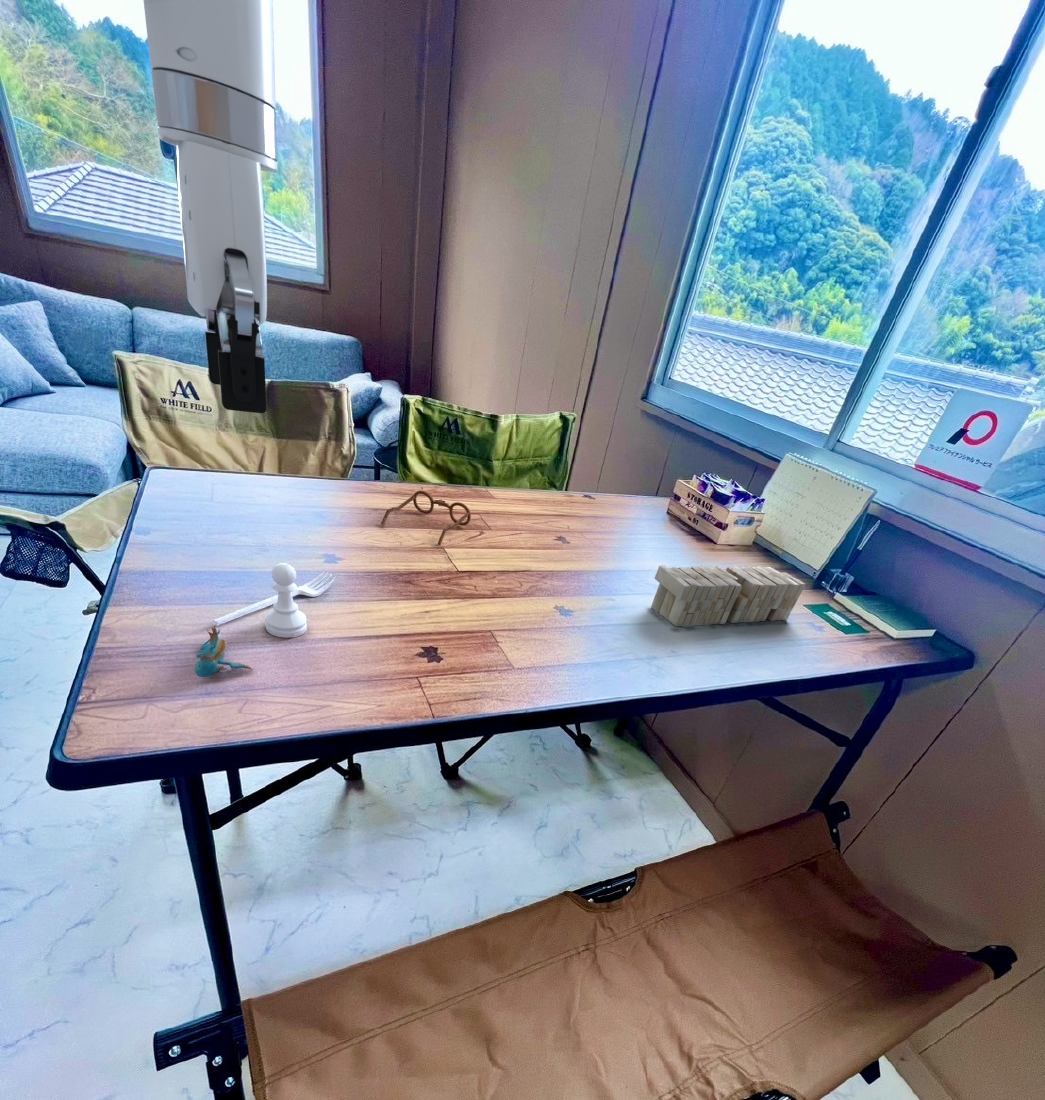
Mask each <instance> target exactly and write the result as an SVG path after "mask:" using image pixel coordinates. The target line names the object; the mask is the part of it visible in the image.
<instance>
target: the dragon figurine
mask: <svg viewBox="0 0 1045 1100" xmlns="http://www.w3.org/2000/svg"><path fill="white" fill-rule="evenodd" d="M206 632H207V634H208V635H209V639H208V640H207V641H205V642H204V643H203V644H202V645H200V647H199V650H200V651H202V652H198V653H196V655H195V657H196V659H199V660H198V661H197V662H196V663H195V666H194V673H195V675H196V677H199V678H207V677H210V676H212V675H218V674H219V675H220V674H223V672H222V671H225V670H228V669H229V668H230V669H245V670H246V669H247V670H251V671H253V670H254V669H253V668H252V667H251V666H249V665H246V664H244V663H242V662H235V661H234V662H233V661H223V659H224V657H225V652H226V650H227V640H226V639H222V638H221V639H220V638H219V634H220V633H221V629H218V630H217V628H216V625H213V627H211V631H208V630H207V631H206ZM223 665H224V666H229V668H228V667H224V666H223Z"/></svg>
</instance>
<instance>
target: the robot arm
mask: <svg viewBox="0 0 1045 1100" xmlns="http://www.w3.org/2000/svg"><path fill="white" fill-rule="evenodd" d="M273 2H274V0H143V9H144V17H145V18H144V19H145V26H146V35H147V44H148V54H149V63H150V70H151V80H152V90H153V98H154V100H153V101H154V108H155V109H154V110H155V117H156V127H157V134H158V135H157V136H158V139H159V140H160V141H163V142H164V143H167V144H169V145H172V146H174V147H176V158H177V159H176V165H177V190H178V201H179V212H180V213H179V214H180V225H181V226H180V227H181V235H182V236H181V237H182V247H183V256H184V257H183V258H184V270H185V281H186V293H187V294H186V295H187V301H188V302H189V305H190V306H191V307H192V309H193V310H194V311H195V312H196V313H197V314H198V315H199V316H200V317H203V318H204V317H205V319H206V330H207V331H204V333H205V346H206V356H207V369H208V378H209V381H210V382H211V383H212V384H213V385H219V386H220V397H221V405H222V407H223V408H224V409H225V410H226V411H233V412H234V411H235V412H244V413H252V414H253V413H254V414H266V412H267V409H268V408H267V390H266V389H267V388H266V387H267V385H266V384H267V383H266V365H265V363H266V362H265V357H264V356H263V354H264V351H263V350H264V349H263V342H262V334H261V327H260V326H261V325H262V324H264V323H265V322H266V321H267V317H268V316H267V313H268V279H267V274H268V273H267V251H266V250H267V249H266V247H267V246H266V228H265V225H266V224H265V211H264V210H265V209H264V207H265V206H264V203H265V201H264V194H263V175H262V172H267V173H268V172H270V173H278V147H277V113H276V110H277V109H276V75H275V73H276V72H275V69H276V68H275V37H274V36H275V35H274V34H275V33H274V3H273Z"/></svg>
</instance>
